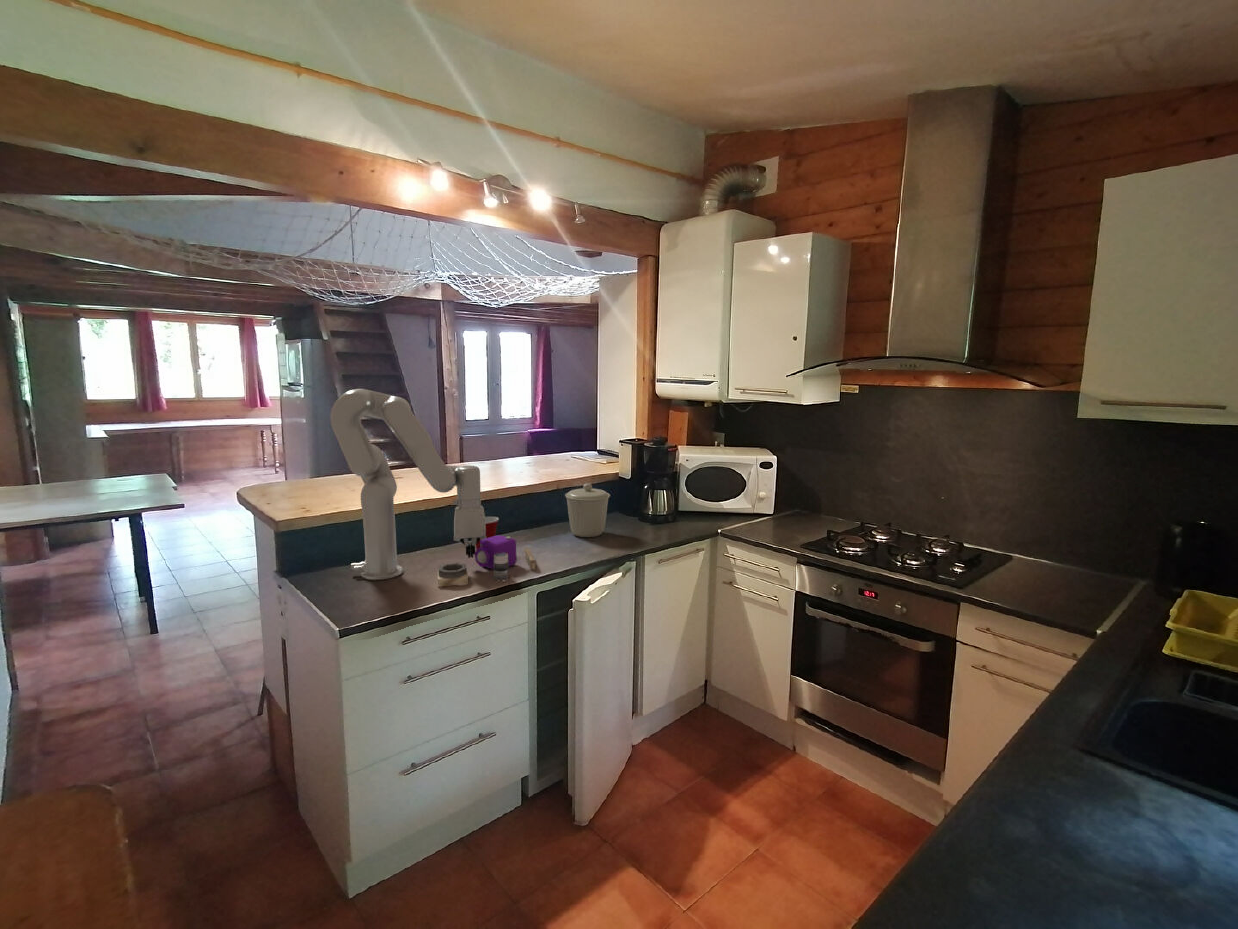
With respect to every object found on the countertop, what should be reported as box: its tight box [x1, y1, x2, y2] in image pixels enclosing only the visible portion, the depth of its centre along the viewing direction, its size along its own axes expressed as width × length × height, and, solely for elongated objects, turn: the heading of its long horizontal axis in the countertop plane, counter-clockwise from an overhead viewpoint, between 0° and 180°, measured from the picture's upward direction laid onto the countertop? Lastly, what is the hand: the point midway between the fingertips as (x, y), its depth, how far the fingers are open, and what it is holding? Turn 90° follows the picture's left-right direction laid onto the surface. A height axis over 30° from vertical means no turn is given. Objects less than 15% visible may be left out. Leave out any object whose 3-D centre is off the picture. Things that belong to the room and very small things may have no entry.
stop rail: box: [524, 547, 536, 571], centre depth 210 cm, size 2×14×4 cm, turn 16°
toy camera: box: [474, 535, 517, 570], centre depth 206 cm, size 11×14×10 cm
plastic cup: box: [475, 516, 500, 550], centre depth 224 cm, size 11×11×12 cm
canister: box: [564, 483, 611, 538], centre depth 246 cm, size 18×18×21 cm
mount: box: [437, 562, 469, 588], centre depth 192 cm, size 9×9×4 cm
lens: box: [493, 553, 510, 582], centre depth 195 cm, size 5×5×8 cm
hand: (470, 556), depth 204 cm, fingers closed
